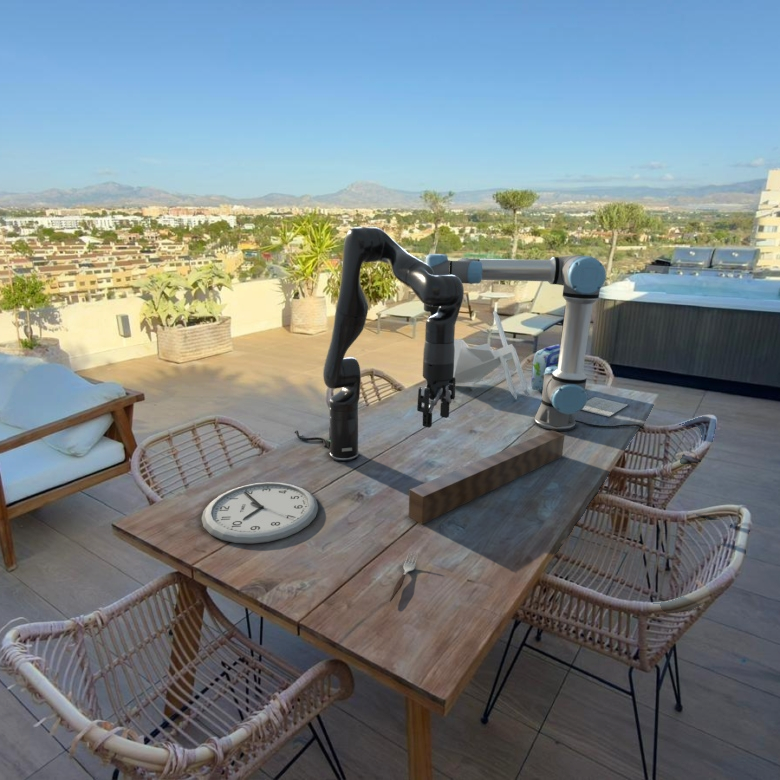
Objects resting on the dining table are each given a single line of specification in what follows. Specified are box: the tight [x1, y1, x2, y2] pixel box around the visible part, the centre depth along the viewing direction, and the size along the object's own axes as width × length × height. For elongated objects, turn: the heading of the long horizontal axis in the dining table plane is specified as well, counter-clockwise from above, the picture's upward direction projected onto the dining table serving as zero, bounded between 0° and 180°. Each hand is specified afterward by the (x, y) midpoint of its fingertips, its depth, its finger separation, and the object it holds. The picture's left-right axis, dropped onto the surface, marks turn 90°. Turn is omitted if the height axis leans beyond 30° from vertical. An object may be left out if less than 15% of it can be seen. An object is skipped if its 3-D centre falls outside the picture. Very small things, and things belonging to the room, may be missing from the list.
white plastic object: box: [453, 310, 531, 400], centre depth 245 cm, size 37×45×31 cm
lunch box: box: [530, 344, 561, 393], centre depth 247 cm, size 26×11×21 cm, turn 134°
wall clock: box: [201, 481, 319, 544], centre depth 139 cm, size 30×2×30 cm
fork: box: [389, 550, 419, 602], centre depth 113 cm, size 3×16×2 cm, turn 160°
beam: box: [408, 430, 566, 525], centre depth 156 cm, size 66×5×8 cm, turn 131°
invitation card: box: [581, 396, 629, 418], centre depth 226 cm, size 21×1×15 cm
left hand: (435, 421), depth 131 cm, fingers open, 8 cm apart
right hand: (432, 358), depth 189 cm, fingers open, 13 cm apart
